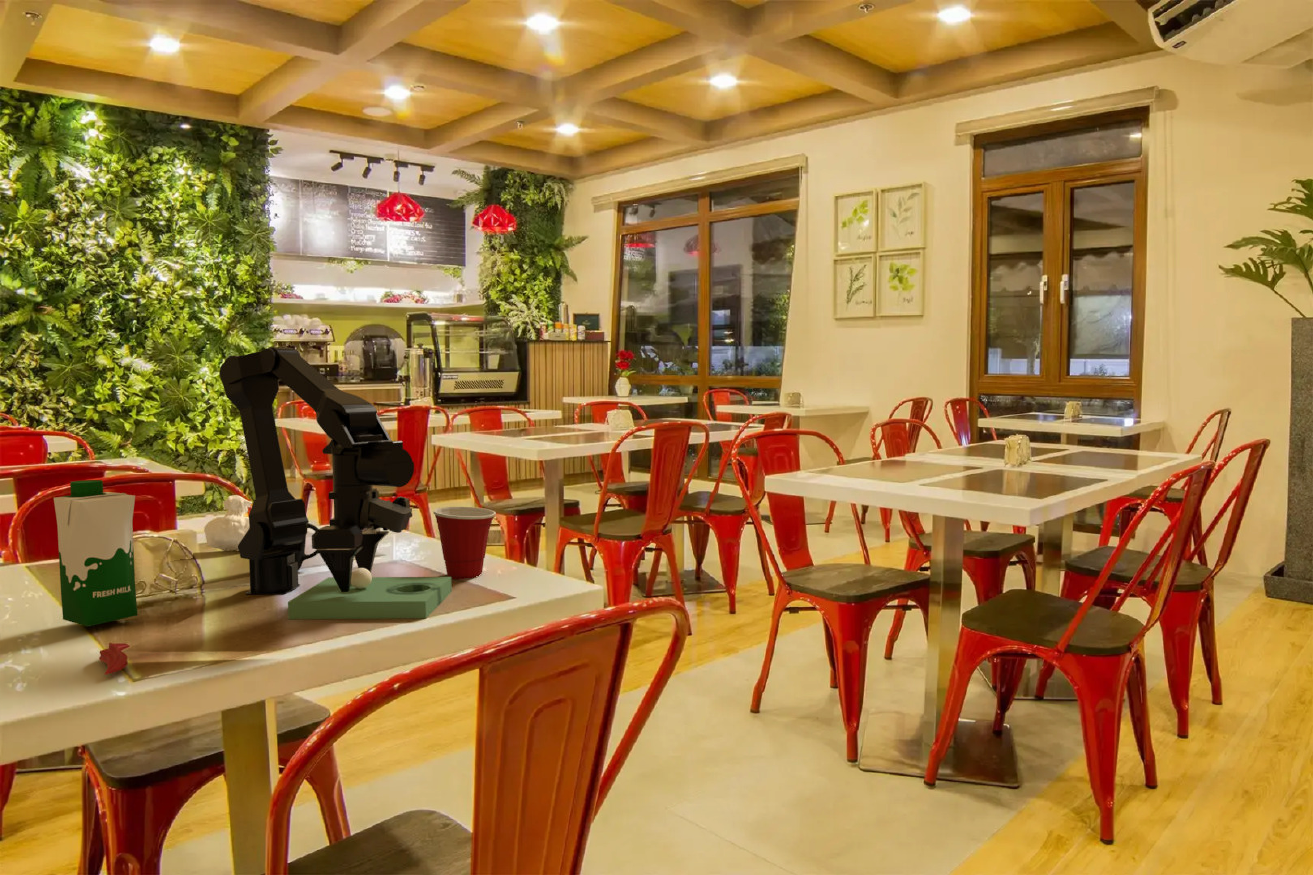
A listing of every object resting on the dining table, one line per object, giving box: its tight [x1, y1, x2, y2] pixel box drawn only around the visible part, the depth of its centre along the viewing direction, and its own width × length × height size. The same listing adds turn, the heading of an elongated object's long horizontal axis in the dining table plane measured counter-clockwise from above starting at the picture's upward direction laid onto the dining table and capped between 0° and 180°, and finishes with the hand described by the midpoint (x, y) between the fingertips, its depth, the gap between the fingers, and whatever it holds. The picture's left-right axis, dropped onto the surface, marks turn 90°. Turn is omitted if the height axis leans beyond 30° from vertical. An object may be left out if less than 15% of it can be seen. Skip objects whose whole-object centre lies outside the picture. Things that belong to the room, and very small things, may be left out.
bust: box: [203, 494, 253, 552], centre depth 181 cm, size 12×8×11 cm, turn 91°
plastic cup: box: [432, 506, 497, 580], centre depth 156 cm, size 11×11×12 cm
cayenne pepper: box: [98, 642, 130, 675], centre depth 112 cm, size 12×5×2 cm, turn 14°
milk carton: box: [53, 479, 138, 628], centre depth 130 cm, size 9×9×20 cm
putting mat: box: [287, 576, 452, 620], centre depth 137 cm, size 20×16×2 cm
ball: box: [351, 567, 373, 589], centre depth 137 cm, size 3×3×3 cm
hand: (356, 584), depth 137 cm, fingers open, 9 cm apart
